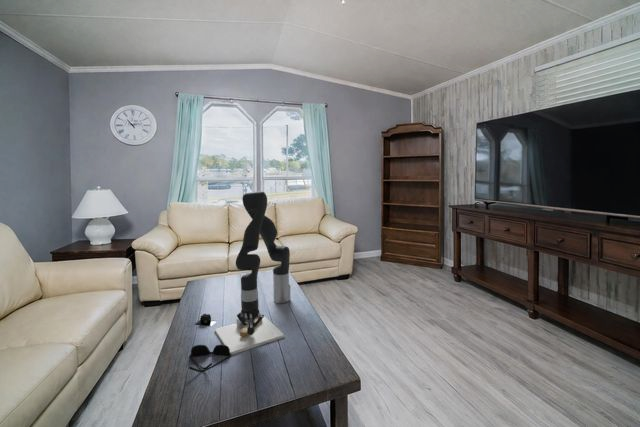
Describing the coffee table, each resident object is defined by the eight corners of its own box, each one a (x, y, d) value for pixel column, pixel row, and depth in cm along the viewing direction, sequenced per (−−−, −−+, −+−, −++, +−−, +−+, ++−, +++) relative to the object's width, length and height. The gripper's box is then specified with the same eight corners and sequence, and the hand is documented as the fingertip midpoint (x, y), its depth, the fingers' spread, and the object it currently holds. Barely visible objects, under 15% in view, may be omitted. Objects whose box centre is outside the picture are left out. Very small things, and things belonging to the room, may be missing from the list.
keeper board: (263, 317, 157) (263, 307, 157) (284, 337, 138) (284, 325, 137) (214, 331, 143) (214, 320, 143) (230, 355, 124) (230, 342, 123)
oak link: (255, 317, 153) (255, 311, 153) (263, 318, 152) (263, 312, 152) (238, 336, 136) (238, 329, 135) (247, 337, 135) (247, 330, 134)
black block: (220, 321, 154) (220, 313, 153) (212, 328, 147) (212, 319, 146) (199, 319, 157) (198, 311, 156) (190, 326, 150) (189, 317, 149)
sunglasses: (176, 378, 110) (175, 365, 110) (191, 355, 125) (190, 343, 124) (222, 377, 111) (221, 364, 110) (232, 354, 125) (231, 343, 125)
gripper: (266, 295, 136) (267, 331, 138) (240, 293, 139) (241, 328, 141) (259, 302, 129) (261, 340, 131) (232, 299, 132) (233, 336, 134)
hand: (251, 334), depth 136 cm, fingers closed
